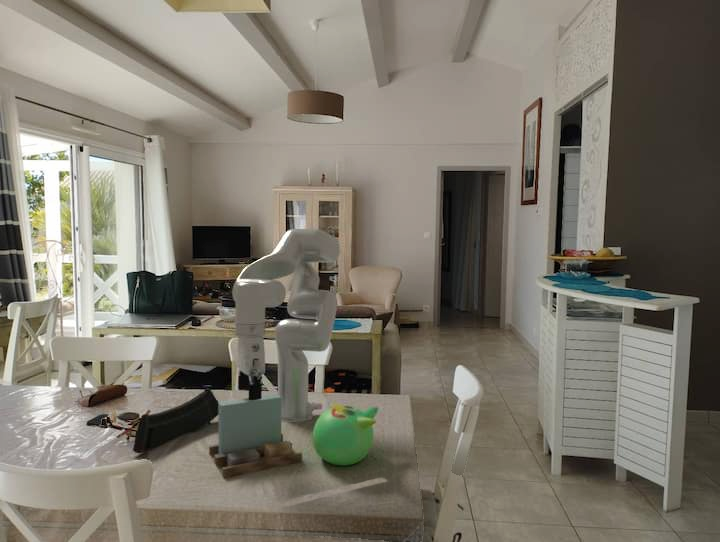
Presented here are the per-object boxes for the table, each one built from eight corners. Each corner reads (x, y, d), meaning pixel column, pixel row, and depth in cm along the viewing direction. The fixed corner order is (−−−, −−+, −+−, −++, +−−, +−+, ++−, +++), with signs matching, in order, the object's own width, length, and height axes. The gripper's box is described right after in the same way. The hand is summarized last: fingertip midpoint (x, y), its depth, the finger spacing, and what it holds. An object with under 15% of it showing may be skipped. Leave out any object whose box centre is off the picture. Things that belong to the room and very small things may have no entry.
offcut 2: (286, 453, 138) (286, 440, 138) (291, 459, 135) (291, 446, 134) (264, 458, 135) (264, 444, 135) (269, 464, 132) (269, 450, 132)
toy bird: (316, 445, 146) (317, 393, 145) (377, 447, 146) (378, 395, 145) (308, 475, 128) (308, 417, 127) (377, 477, 128) (378, 418, 127)
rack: (281, 442, 148) (281, 432, 147) (302, 465, 134) (302, 454, 133) (208, 456, 138) (208, 445, 138) (223, 482, 124) (223, 470, 124)
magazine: (133, 427, 134) (211, 368, 159) (124, 425, 135) (202, 366, 160) (149, 481, 139) (222, 416, 164) (140, 479, 141) (214, 414, 166)
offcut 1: (254, 460, 134) (254, 448, 134) (259, 466, 131) (259, 454, 130) (227, 465, 131) (227, 453, 131) (231, 472, 127) (231, 460, 127)
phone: (101, 413, 166) (145, 417, 164) (101, 417, 166) (145, 420, 164) (84, 422, 158) (130, 426, 156) (84, 426, 158) (130, 430, 156)
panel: (277, 444, 144) (277, 394, 143) (281, 448, 142) (281, 397, 141) (218, 455, 137) (218, 402, 136) (221, 459, 134) (221, 405, 133)
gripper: (275, 334, 131) (274, 401, 132) (254, 323, 146) (253, 384, 147) (245, 336, 127) (244, 405, 128) (227, 325, 142) (226, 387, 143)
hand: (249, 394), depth 137 cm, fingers open, 9 cm apart
